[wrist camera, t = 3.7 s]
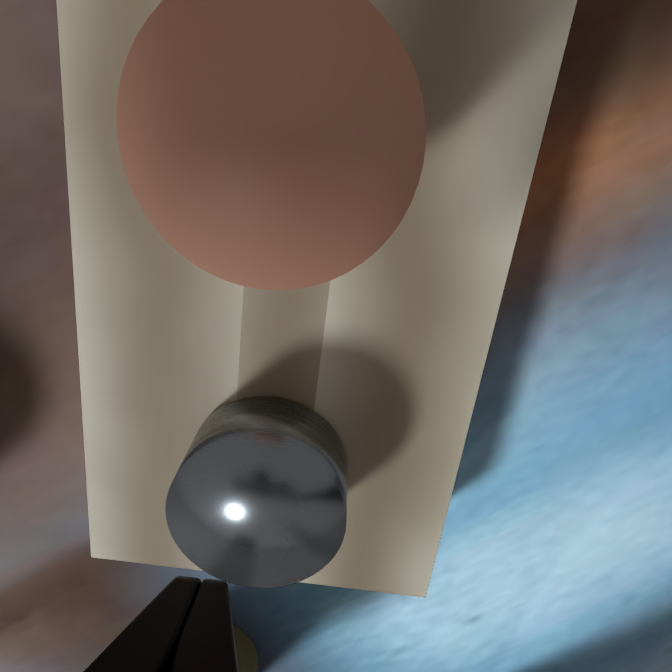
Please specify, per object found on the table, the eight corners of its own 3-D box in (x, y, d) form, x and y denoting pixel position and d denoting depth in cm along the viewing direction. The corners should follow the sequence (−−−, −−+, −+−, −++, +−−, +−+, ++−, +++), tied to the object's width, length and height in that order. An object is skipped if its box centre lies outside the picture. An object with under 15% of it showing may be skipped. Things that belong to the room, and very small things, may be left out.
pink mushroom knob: (413, 39, 14) (455, -16, 8) (382, 234, 16) (397, 307, 10) (215, 12, 14) (110, -65, 8) (208, 212, 16) (120, 271, 10)
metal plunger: (357, 355, 20) (358, 455, 14) (340, 467, 22) (334, 597, 16) (221, 337, 20) (166, 431, 14) (216, 452, 22) (165, 576, 16)
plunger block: (538, -29, 16) (596, -74, 12) (414, 520, 23) (425, 597, 19) (121, -88, 15) (47, -152, 12) (133, 485, 23) (91, 557, 19)
